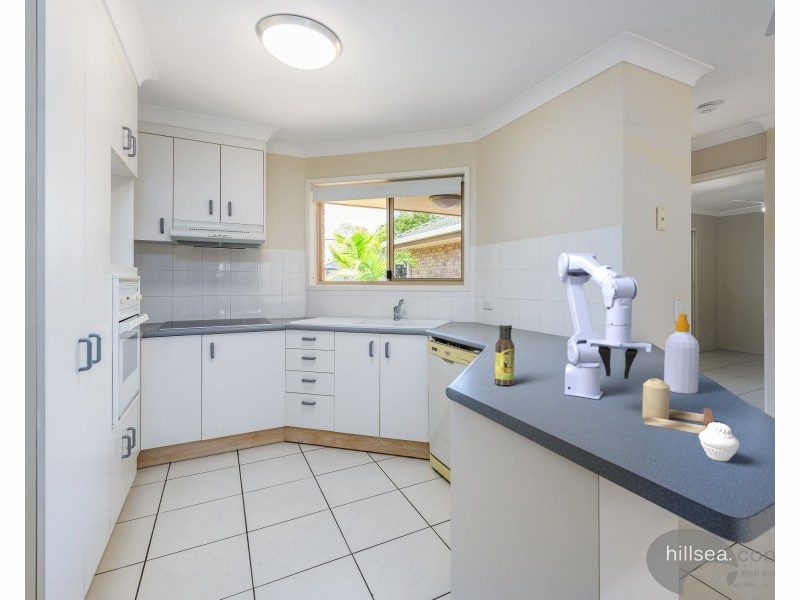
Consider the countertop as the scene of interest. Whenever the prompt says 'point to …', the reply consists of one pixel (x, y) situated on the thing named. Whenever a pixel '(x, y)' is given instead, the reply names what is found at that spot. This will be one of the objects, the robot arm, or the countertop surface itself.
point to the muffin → (718, 441)
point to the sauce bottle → (504, 357)
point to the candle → (656, 399)
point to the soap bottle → (681, 359)
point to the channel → (682, 426)
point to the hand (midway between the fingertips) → (617, 376)
